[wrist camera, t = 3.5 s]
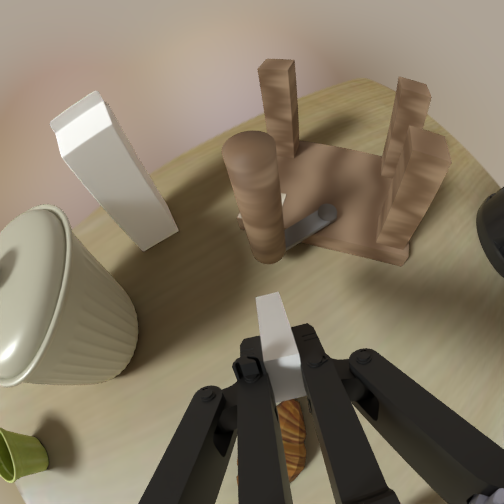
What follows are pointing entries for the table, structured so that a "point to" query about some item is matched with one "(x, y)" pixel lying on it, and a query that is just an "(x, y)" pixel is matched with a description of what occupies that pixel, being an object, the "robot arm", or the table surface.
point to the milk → (112, 170)
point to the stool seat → (356, 171)
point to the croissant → (292, 436)
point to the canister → (59, 306)
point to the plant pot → (20, 456)
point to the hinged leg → (266, 197)
